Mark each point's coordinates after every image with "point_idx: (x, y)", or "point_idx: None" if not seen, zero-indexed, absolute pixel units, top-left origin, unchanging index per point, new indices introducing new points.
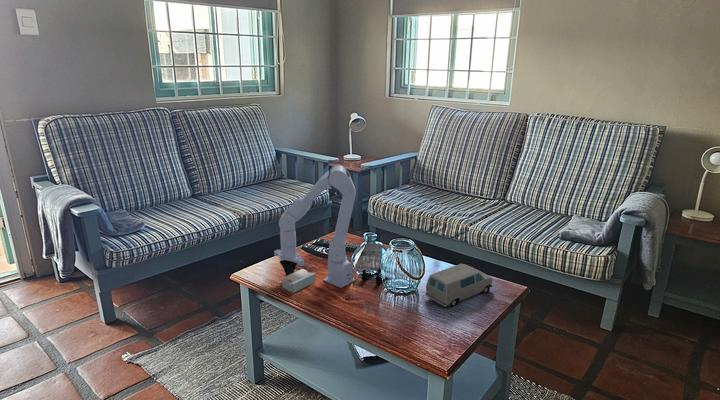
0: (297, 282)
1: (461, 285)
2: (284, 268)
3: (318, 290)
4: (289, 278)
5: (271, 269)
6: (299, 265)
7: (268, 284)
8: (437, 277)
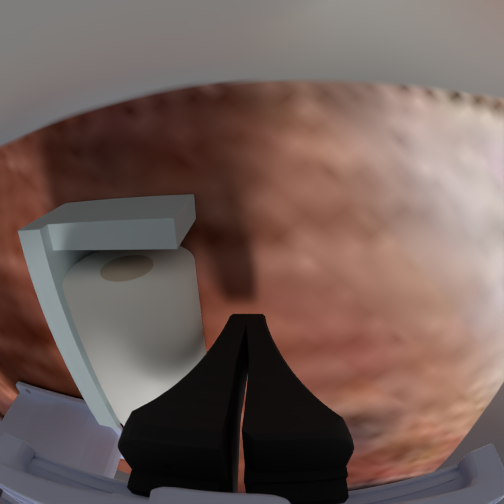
0: (32, 276)
1: None
2: (268, 375)
3: (29, 321)
4: (124, 284)
5: (473, 327)
6: (15, 436)
7: (349, 149)
8: None
